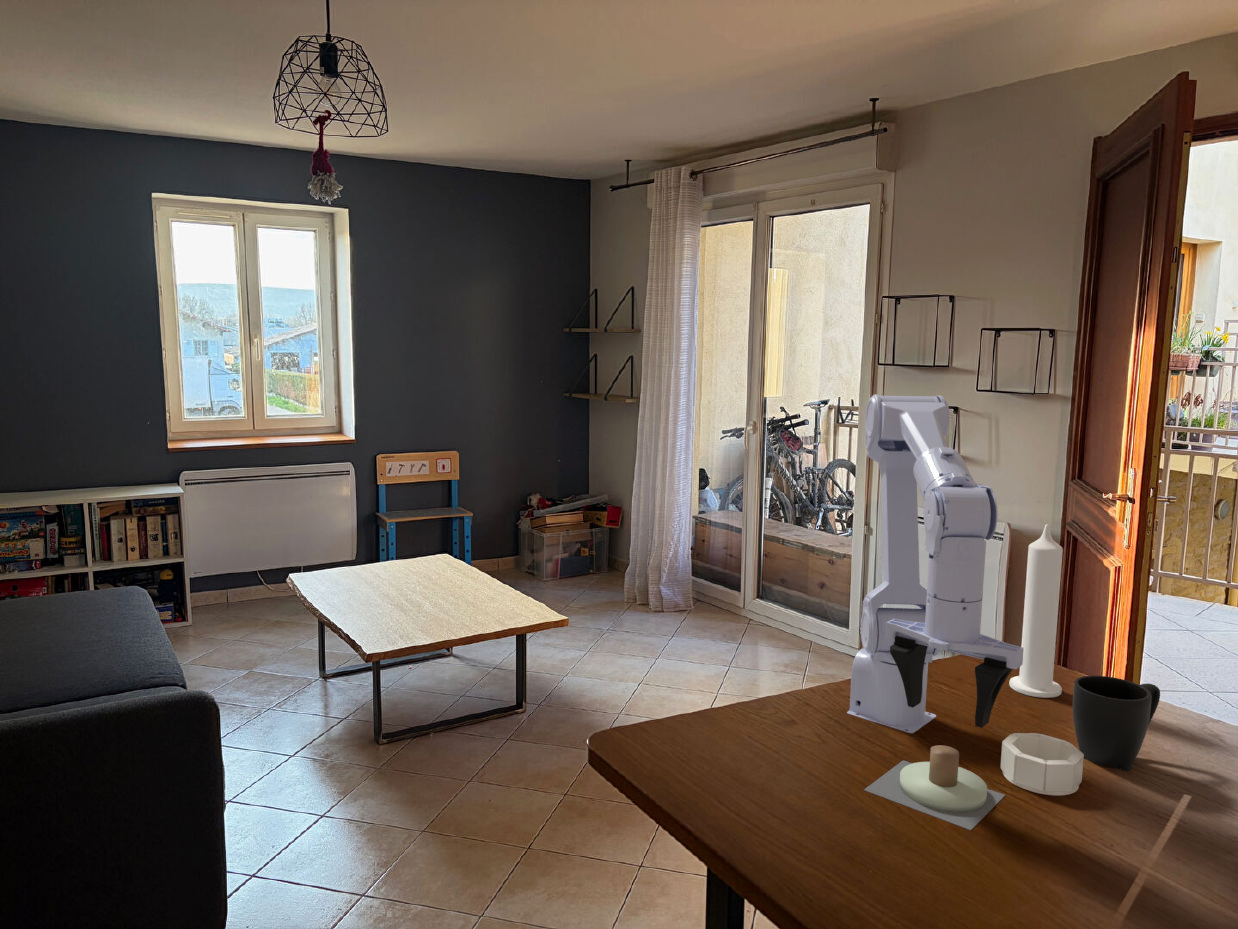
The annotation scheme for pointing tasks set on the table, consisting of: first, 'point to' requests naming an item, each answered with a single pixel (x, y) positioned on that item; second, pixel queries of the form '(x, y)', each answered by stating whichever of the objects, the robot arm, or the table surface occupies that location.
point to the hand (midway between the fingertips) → (947, 714)
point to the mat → (891, 790)
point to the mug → (1112, 718)
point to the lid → (943, 782)
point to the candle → (1040, 619)
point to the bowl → (1042, 763)
